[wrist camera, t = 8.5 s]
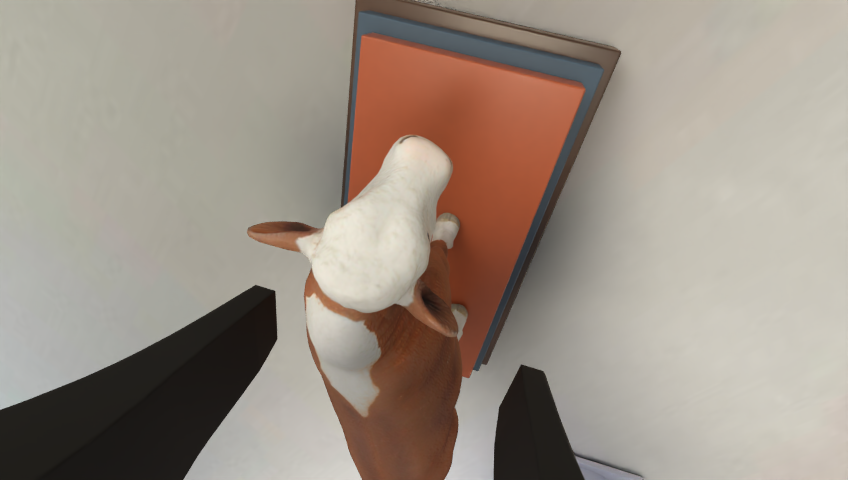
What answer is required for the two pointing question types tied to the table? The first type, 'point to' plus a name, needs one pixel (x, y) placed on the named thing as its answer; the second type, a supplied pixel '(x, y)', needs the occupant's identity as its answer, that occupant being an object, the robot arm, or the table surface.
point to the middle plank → (498, 53)
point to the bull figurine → (387, 314)
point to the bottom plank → (402, 5)
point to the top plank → (466, 154)
